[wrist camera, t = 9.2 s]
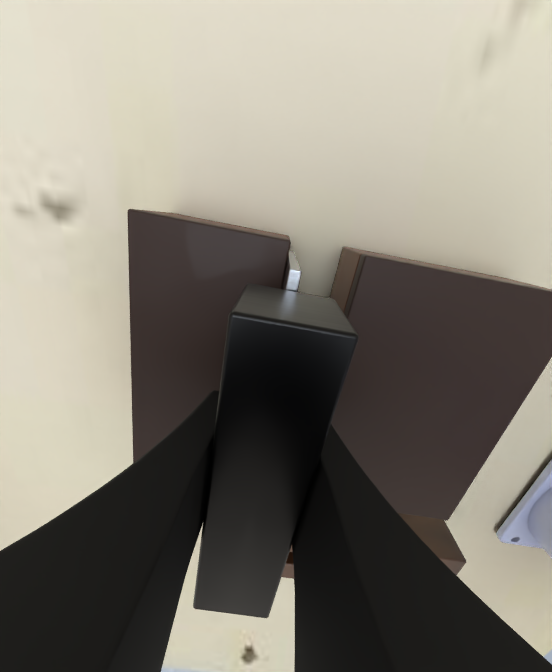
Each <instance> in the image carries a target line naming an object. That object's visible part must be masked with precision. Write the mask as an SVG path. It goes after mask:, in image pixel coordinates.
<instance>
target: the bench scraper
mask: <svg viewBox="0 0 552 672" xmlns="http://www.w3.org/2000/svg"><path fill="white" fill-rule="evenodd" d="M301 273H302V271H301V269H300V266H299V263H298V261H297V258H296V255H295V253H294V251H293V250H289V254H288V259H287V264H286V270H285V275H284V280H283V285H282V289H278V288H273V287H267V286H262V285H257V284H251V283H249V284H247V285H246V287H245V288H244V290H243V292H242V293H241V295H240V297H239V298H238V300H237V302H236V303H235V305H234V307H233V308H232V310H231V312H230V313H229V316H228V324H227V332H226V340H225V349H224V357H223V365H222V373H221V381H220V390H219V398H218V406H217V414H216V422H215V431H214V439H213V447H212V455H211V463H210V472H209V480H208V488H207V496H206V504H205V513H204V521H203V529H202V537H201V546H200V554H199V562H198V570H197V578H196V587H195V595H194V603H193V607H194V608H195V609H201V610H208V611H216V612H224V613H231V614H239V615H246V616H254V617H262V618H267V617H268V616H269V613H270V610H271V607H272V604H273V601H274V598H275V595H276V592H277V589H278V585H279V582H280V579H281V576H282V573H283V570H284V567H285V564H286V561H287V558H288V555H289V552H290V548H291V545H292V542H293V539H294V536H295V533H296V530H297V527H298V524H299V521H300V518H301V514H302V511H303V508H304V505H305V502H306V499H307V496H308V493H309V490H310V487H311V484H312V480H313V477H314V474H315V471H316V468H317V465H318V462H319V459H320V456H321V453H322V450H323V446H324V443H325V440H326V437H327V434H328V431H329V428H330V425H331V422H332V419H333V416H334V413H335V409H336V406H337V403H338V400H339V397H340V394H341V391H342V388H343V385H344V382H345V379H346V375H347V372H348V369H349V366H350V363H351V360H352V357H353V354H354V351H355V348H356V345H357V341H358V334H357V332H356V331H355V329H354V328H353V326H352V325H351V323H350V322H349V320H348V319H347V317H346V316H345V314H344V313H343V311H342V310H341V308H340V307H339V305H338V304H337V302H336V301H335V300H334V299H332V298H326V297H321V296H316V295H310V294H305V293H300V292H297V291H298V287H299V282H300V277H301Z"/></svg>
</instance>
